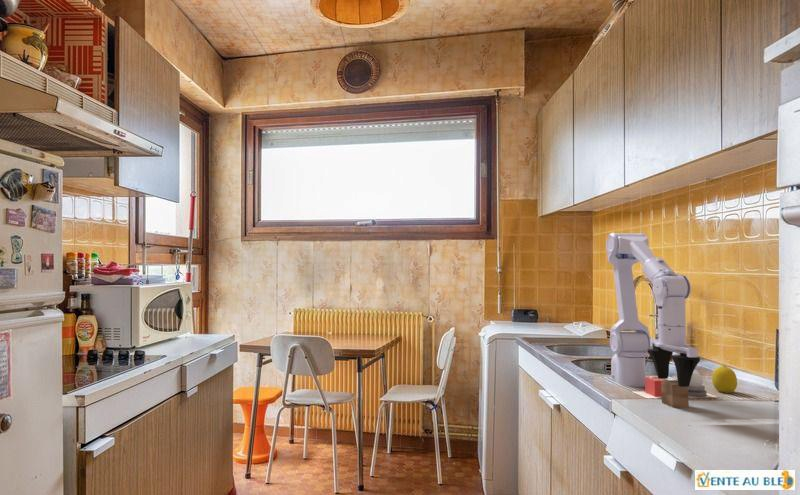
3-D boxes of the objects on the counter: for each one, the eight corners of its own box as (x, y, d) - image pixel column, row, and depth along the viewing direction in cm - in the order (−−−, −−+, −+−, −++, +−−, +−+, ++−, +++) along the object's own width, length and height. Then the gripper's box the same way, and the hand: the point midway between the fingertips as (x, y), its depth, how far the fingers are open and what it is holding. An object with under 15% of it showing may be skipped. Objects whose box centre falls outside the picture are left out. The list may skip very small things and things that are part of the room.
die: (645, 392, 122) (645, 375, 122) (659, 392, 123) (659, 375, 123) (654, 396, 118) (654, 378, 118) (669, 396, 119) (669, 378, 119)
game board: (631, 395, 123) (631, 387, 123) (699, 394, 125) (699, 386, 125) (673, 414, 107) (672, 405, 107) (750, 412, 108) (750, 404, 108)
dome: (674, 386, 124) (674, 368, 124) (694, 386, 124) (694, 368, 124) (689, 392, 118) (688, 372, 118) (710, 391, 119) (709, 372, 119)
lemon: (726, 398, 120) (725, 367, 121) (707, 393, 126) (706, 363, 126) (743, 397, 122) (742, 366, 122) (723, 392, 127) (722, 362, 127)
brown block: (661, 405, 113) (661, 380, 113) (677, 405, 113) (676, 380, 114) (672, 410, 109) (672, 384, 109) (688, 410, 109) (688, 384, 110)
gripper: (638, 321, 119) (639, 375, 118) (676, 329, 104) (677, 390, 104) (664, 321, 119) (665, 375, 119) (705, 329, 105) (707, 389, 104)
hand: (673, 382), depth 111 cm, fingers open, 7 cm apart
